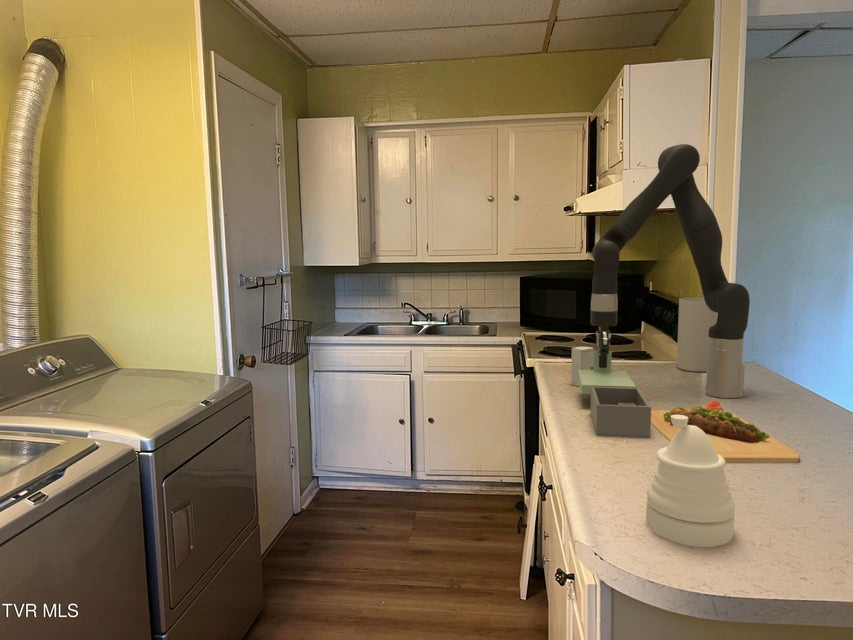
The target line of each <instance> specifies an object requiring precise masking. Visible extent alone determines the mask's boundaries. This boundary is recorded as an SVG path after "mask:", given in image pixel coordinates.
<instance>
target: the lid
mask: <svg viewBox="0 0 853 640" xmlns="http://www.w3.org/2000/svg"><path fill="white" fill-rule="evenodd" d="M612 354H613V353H612V351H611V350H609V353H608V355H607V367H606V368H600V367H599V351H598V350H594V358H593V370H578V380H579V384H580V387H579V388H580V392H581V394H582V395H583V394H584V395H585V394H586V395H591V387H613V388H637V386H636V385H635V383H634V382H633V380H632V378H631V377H630V375H629V374H628V371H626V370H612Z"/></svg>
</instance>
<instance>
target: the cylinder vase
mask: <svg viewBox="0 0 853 640" xmlns="http://www.w3.org/2000/svg"><path fill="white" fill-rule="evenodd" d="M717 317H718V313H717V312H714V311H712V310H710V309H709V308H708V306H707V305H706V303H705V300H704V297H681V298H678V317H677V319H678V323H677V324H678V325H677V327H678V328H677V347H676V348H677V351H676V353H677V355H676V366H677V368H678V369H679V370H682V371H685V372H691V373H707V356H708V332H709V328H710V327H711V326H713V325H715V324H716V322H717Z"/></svg>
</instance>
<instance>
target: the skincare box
mask: <svg viewBox="0 0 853 640" xmlns="http://www.w3.org/2000/svg"><path fill="white" fill-rule="evenodd" d="M594 351H595V350H594V347H590V346H577V347H572V348H571V372H570V373H571V377H570V378H571V379H570V380H571V383H570V385H572V386H574V385H575V387H578V386H579V388H580V384H579V380H578V370H593V361H594Z"/></svg>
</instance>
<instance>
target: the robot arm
mask: <svg viewBox="0 0 853 640" xmlns="http://www.w3.org/2000/svg"><path fill="white" fill-rule="evenodd" d="M700 156H701V155H700V153H699V151H698V149H697V148H696V147H695V146H694V145H691V144H688V143H687V144H686V143H681V144H680V143H679V144H676V145H673V146H669V147H667V148H665V149H664V150H662V152H661V153H660V154H659V157H658V159H657V168H658V173H657V174H656V175H655V177H654V178H653V179H652V180H651V182H650V183H649V184H648V185H647V186H646V187H645V189H643V190H642V191H641V192H640V193H639V194H638V195H637V196H636V197H635V198H634V199H633V200H632V201H631V202H630V203H629V204H628V205H627V206H626V207H625V208H624V210H622V212H621V213H620V215H618V217H617V218H616V220H615V221H613V224H612V226H610V228H609V229H608V230H607V231H606V232H605V233H604V234H603V235H602V236H601V238H599V240H598V241H596V243H595V244H594V245H593V248H592V251H591V256H592V258H593V260H594V264H593V265H594V266H593V267H594V269H593V270H594V271H593V272H594V273H593V274H594V275H593V277H592V283H591V284H592V285H591V287H592V288H591V289H592V290H591V299H590V325H592V326H593V327H595V326H596V327H598V330H596V331H595V336H596V346H597V347H596V349H597V351H599V367H600V368H606V367H607V355H608V353H609V351H610V347H611V338H612V332H611V331H610V330H609V328H610V327H616V326H617V324H618V309H619V308H618V303H619V301H618V273H619V265H620V257H621V256H620V252H621V251H622V249H623V248H624V247H625V246H626V244H628V242H630V241H631V240H632V239H634V237H636V236H637V234H638V233H639V232H640V230H641V229H642V228H643V226H644V225H645V224H646V223H647V222H648V221H649V219H650V218H651V217H652V215H653V214H655V212H656V211H657V210H658V208H659V207H660V206H661V205H662V204H663V202H664V201H665V200H666V199H667V198H668V197H669V196H671V198H672V199H671V200H672V201H673V205H674V208H675V211H676V215H677V217H678V221H679V224H680V226H681V231H682V233H683V235H684V239H685V242H686V244H687V246H688V250H689V251H690V254H691V257H692V261H693V263H694V265H695V268H696V272H697V275H698V277H699V282H700V287H701V292H702V294H703V298H704V300H705V303H706V305H707V306H708V308H709V309H710V310H712V311H714V312H717V313H718V317H717V322H716V324H715V325H713V326H711V327H710V328H709V332H708V356H707V372H706V384H705V394H707V395H708V396H711V397H714V398H721V399H735V398H736V399H738V398H744V385H745V369H746V368H745V365H744V364H743V359H744V358H743V354H744V337H745V333H746V330H747V327H748V325H749V323H748V322H749V315H750V313H749V312H750V303H751V301H750V299H751V298H750V294H749V290H748V289H747V288H746V287H745V286H744V285H742V284H741V283H737V282H736V283H735V282H729V281H728V279H727V277H726V275H725V272H724V269H723V266H722V250H723V249H722V248H723V235H722V232H721V229H720V225H719V223H718V219H717V217H716V216H715V213H714V211H713V209H712V208H711V207H710V205H709V203H707V201H706V200H705V198H704V197H703V195H702V193H701V192H700V191H699V188H698V187H697V184H696V180H695V177H694V174H693V173H694V172H696V171H697V169H698V167H699V165H700V159H701V157H700Z"/></svg>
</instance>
